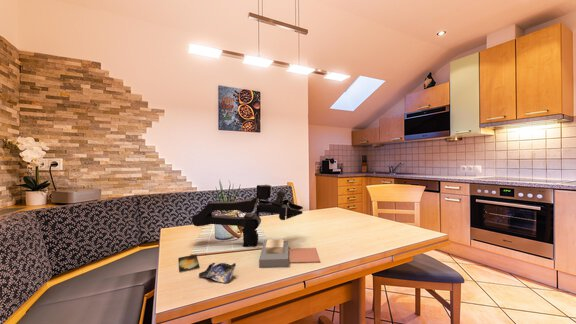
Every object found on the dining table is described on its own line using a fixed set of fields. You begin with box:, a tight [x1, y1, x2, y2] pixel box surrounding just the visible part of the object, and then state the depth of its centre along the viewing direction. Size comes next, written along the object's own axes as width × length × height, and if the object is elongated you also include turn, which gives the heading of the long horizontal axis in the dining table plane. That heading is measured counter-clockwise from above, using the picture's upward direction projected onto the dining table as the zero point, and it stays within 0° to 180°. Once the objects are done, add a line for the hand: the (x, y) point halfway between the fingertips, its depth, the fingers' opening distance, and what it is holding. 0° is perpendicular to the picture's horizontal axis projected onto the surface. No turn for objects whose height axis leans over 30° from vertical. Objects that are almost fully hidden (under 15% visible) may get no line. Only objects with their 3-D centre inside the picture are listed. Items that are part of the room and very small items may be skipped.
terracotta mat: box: [288, 247, 321, 264], centre depth 99 cm, size 12×14×1 cm
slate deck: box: [258, 240, 290, 269], centre depth 99 cm, size 11×20×3 cm, turn 0°
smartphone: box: [178, 254, 201, 274], centre depth 94 cm, size 7×1×15 cm
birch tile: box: [265, 238, 284, 254], centre depth 99 cm, size 7×9×2 cm
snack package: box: [198, 261, 237, 284], centre depth 83 cm, size 12×7×12 cm
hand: (302, 210), depth 112 cm, fingers open, 9 cm apart
